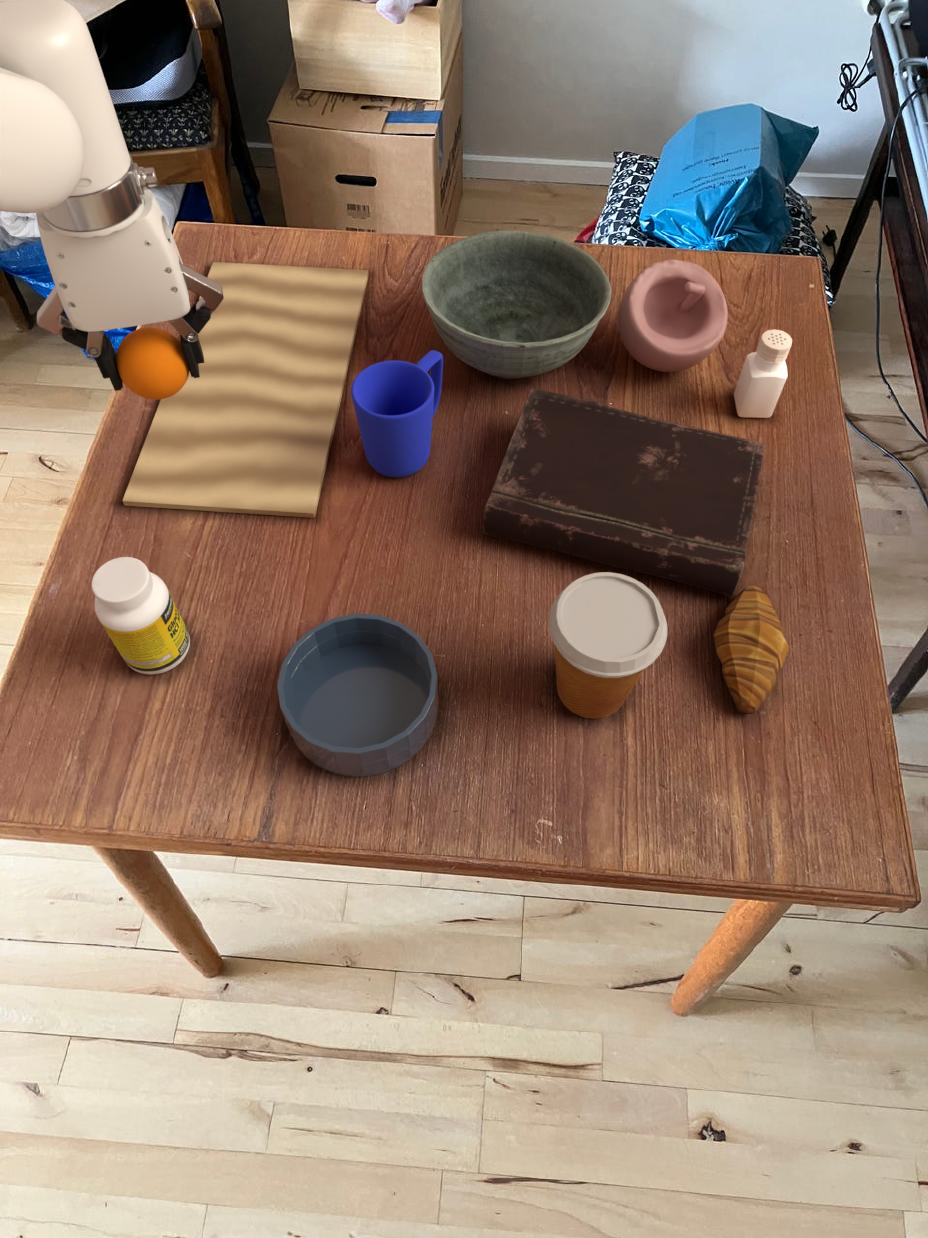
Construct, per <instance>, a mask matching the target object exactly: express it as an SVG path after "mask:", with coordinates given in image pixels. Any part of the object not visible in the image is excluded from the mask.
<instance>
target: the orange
mask: <svg viewBox="0 0 928 1238" xmlns="http://www.w3.org/2000/svg"><path fill="white" fill-rule="evenodd" d="M116 365H117V370H118V373H119V376H120V378H121V379H122V381H123V385H125V386H126V387H127V388H128V389H129V390H130V391H131V392H133V393H134V394H135V395H137V396H139V397H140V398H141V397H142V398H144V399H146V400H147V399H148V400H157V401H160V400H161V399H165V398H168V397H171V396H173V395H174V394H176V393H177V392H179V391H180V390H181V389H182V387H183V386H184V385H185V383H186V381H187V379H188V376H189V368H188V365H187V362H186V359H185V356H184V353H183V350H182V347H181V340H179V339H178V338H177V337H176V336H175V335H174V334H172V333H171V332H169V331H167V330H165V329H162V328H159V327H153V326H152V327H151V326H150V327H149V326H148V327H141V328H137V329H135V330H133V331H131V332H129V333H127V335H126V336H125V337H124V338H123V339H122V340H121V341H120V343H119V345H118V348H117V351H116Z"/></svg>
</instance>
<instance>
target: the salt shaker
mask: <svg viewBox="0 0 928 1238" xmlns="http://www.w3.org/2000/svg"><path fill="white" fill-rule="evenodd" d="M792 344H793V339H792V337H791V335H790V334H789V333H787V332H785V331H784V330H780V329H776V328H775V329H773V328H772V329H767V330H766V331H764V332H763V333H762V334H761V336H760V340H759V341H758V345H757V348H756V351H754V352H750V353H748V354H747V355H746V357H745V359H744V363H743V366H742V369H741V372H740V374H739V377H738V379H737V383H736V387H735V389H734V392H733V398H734V403H735V409H736V414H737V416H738V417H740V418H753V419H755V418H756V419H768V418H771V417H772V416H773V414H774V412H775V409H776V406H777V404H778V401H779V398H780V396H781V394H782V391H783V389H784V386H785V385H786V381H787V379H788V374H789V373H788V367H787V363H786V360H787V358H788V356H789V353H790V350H791V347H792V346H793V345H792Z"/></svg>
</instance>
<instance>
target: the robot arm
mask: <svg viewBox="0 0 928 1238" xmlns="http://www.w3.org/2000/svg"><path fill="white" fill-rule="evenodd" d="M154 187H159V182H158V177H157V174H156V170H155V168H154V166H151V167H144V166H139V165H138V164H137V162H134V161H133V157H132V153H129V150H128V147H127V144H126V140H125V137H124V134H123V130H122V128H121V125H120V122H119V118H118V115H117V113H116V109H115V106H114V102H113V99H112V96H111V94H110V91H109V87H108V85H107V81H106V78H105V76H104V72H103V69H102V66H101V63H100V60H99V57H98V54H97V51H96V48H95V44H94V42H93V38H92V36H91V33H90V31H89V27H88V25H87V23H86V21H85V19H84V17H83V16H82V15H81V14H80V12H79V11H78V10H77V8H75V7H74V6H73V5H72V4H71V3H69V2H68V1H65V0H0V212H5V213H6V212H7V213H15V214H35V216H36V222H37V227H38V232H39V236H40V241H41V246H42V249H43V252H44V256H45V258H46V262H47V265H48V269H49V271H50V274H51V277H52V280H53V283H54V285H55V286H54V287H53V288H52V289H51V291H50V292H49V294H48V296H47V297H46V299H44V301H43V303H42V305H41V306H40V308H39V309H38V310H37V313H36V324H37V326H38V327H40V328H41V329H43V330H46V331H48V332H49V333H52V334H54V335H55V336H60V337H61V338H62V339H63V340H64V341H65V342H67V343H69V344H70V345H71V344H72V345H73V346H76V347H77V348H79V349H82V350H84V351H86V355H88V356H89V357H91V358H94V361H95V363H96V365H97V367H98V369H99V372H100V374H101V376H102V378H103V379H109V380H110V383H111V385H112V387H113V390H114V392H117V391H122V389H123V388H124V383H123V381H122V379H121V378H120V376H119V373H118V370H117V365H116V354H117V351H116V350H115V347H114V345H113V342H112V340H111V338H110V337H109V336H107V334H106V333H105V331H111V330H118V329H124V328H125V329H126V328H132V327H138V326H144V325H151V324H157V323H163V322H168V323H169V324H170V325H171V326H172V327H173V328H174V329H175V331H177V332H178V333H179V338H180V340H179V341H180V342H181V347H182V350H183V353H184V356H185V359H186V362H187V365H188V368H189V371H190V374H191V377H194V378H199V377H200V374H199V366H198V364H200V363H204V356H203V351H202V348H201V345H200V341H199V338H198V334H199V333H200V331H201V330H202V329H203V327H204V326H205V325H206V324H207V322H208V321H209V320H210V318H211V314H212V313H213V311H215V310H216V309H217V307H218V306H219V304H220V303H221V302H222V300H223V298H224V296H223V289H222V286H221V285H219V284H218V283H216V282H214V281H212V280H210V279H208V278H207V277H208V276H204V275H203V274H201V273H199V272H197V271H196V270H194V269H192V268H190V267H188V266H187V265H184V263H183V259H182V257H181V254H180V251H179V249H178V246H177V242H176V241H175V238H174V236H173V235H174V234H173V233H172V230H171V228H170V225H169V223H168V221H167V219H166V217H165V214H164V212H163V209H162V208H161V206H160V204H159V202H158V200H157V199H156V197H155V195H154V194H153V192H152V190H150V188H154ZM189 291H190V292H192V293H194V294H196V295H198V296H199V298H200V296H201V298H200V299H199V298H198V299H197V300H196V301H195V302H194V304H193V305H192V306H191V303H190V296H189ZM64 312H65V315H66V317H67V318H65V316H63V315H62V313H64Z"/></svg>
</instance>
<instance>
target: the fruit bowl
mask: <svg viewBox="0 0 928 1238" xmlns="http://www.w3.org/2000/svg"><path fill="white" fill-rule="evenodd" d="M438 681H439V680H438V671H437V668H436V665H435V660H434V656H433V654H432V652H431V650H430V649H429V647H428V646H427V644H426V643H425V641H424V640H423V639H422V637H421V636H420V635H419V634H418V633H416V632H415V631H414V630H413V629H411V628H409V626H407V625H405V624H404V623H403V622H400V621H398V620H395V619H393V618H390V617H387V616H385V615H381V614H370V613H350V614H346V615H341V616H337V617H332V618H329V619H328V620H325V621H324V622H322V623H320V624H317V625H315V626H313V627H312V628H310V629H309V630H308V631H307V632H306V633H305V634H303V635H302V636H301V637H300V638H299V639H298V640H296V642H294V643H293V645H292V646H291V648H290V649H289V651H288V652H287V654H286V656H285V658H284V659H283V661H282V663H281V665H280V670H279V674H278V679H277V684H276V690H277V696H278V703H279V708H280V711H281V713H282V716H283V719H284V722H285V724H286V728H287V729H288V733H290V735H291V737H292V739H293V741H294V744H295V745H296V746H297V748H298V749H299V751H300V752H301V753H302V755H303V756H305V758H306V759H308V760H309V761H310V762H312V763H313V764H314V765H316V766H317V767H319V768H321V769H323V770H325V771H327V772H330V773H333V774H336V775H340V776H344V777H354V778H358V777H360V778H361V777H371V776H377V775H381V774H384V773H387V772H390V771H392V770H394V769H397V768H398V767H400V766H402V765H404V764H405V763H407V762H408V761H409V760H411V759H412V758H414V756H415V755H416V754H417V753H419V752H420V750H422V748H423V746H424V745H426V743H427V741H428V740H429V738H430V736H431V734H432V732H433V729H434V727H435V725H436V722H437V721H436V720H437V717H438V707H439V706H438V705H439V685H438V684H439V683H438Z"/></svg>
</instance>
